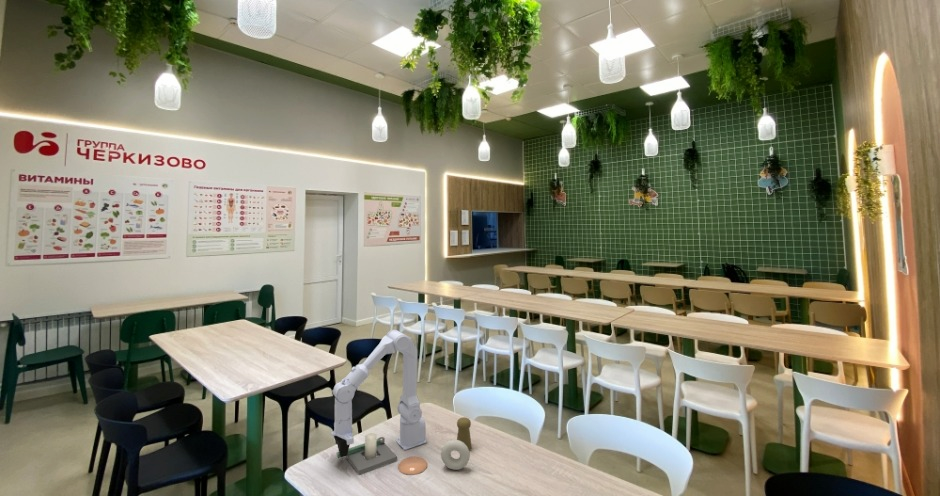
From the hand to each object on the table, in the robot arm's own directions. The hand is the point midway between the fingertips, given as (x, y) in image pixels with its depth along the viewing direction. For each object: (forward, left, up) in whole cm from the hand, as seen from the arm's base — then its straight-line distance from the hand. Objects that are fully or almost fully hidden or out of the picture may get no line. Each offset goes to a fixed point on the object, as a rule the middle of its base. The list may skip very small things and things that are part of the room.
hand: (343, 455), depth 134 cm
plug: (-9, +2, -3) cm, 10 cm away
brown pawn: (-40, +16, -3) cm, 43 cm away
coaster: (-19, +15, -3) cm, 25 cm away
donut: (-30, +25, -3) cm, 39 cm away
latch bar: (-7, -2, -1) cm, 8 cm away
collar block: (-9, +2, -3) cm, 10 cm away
